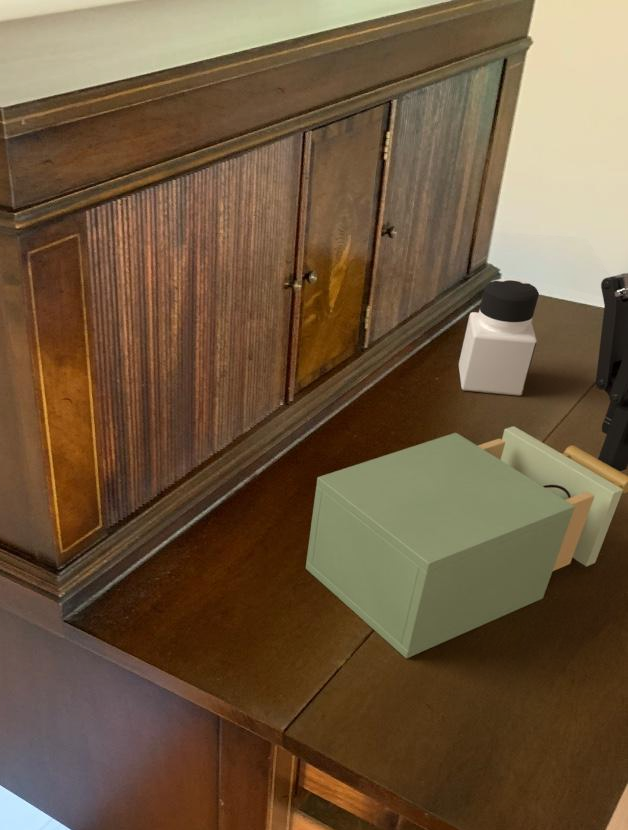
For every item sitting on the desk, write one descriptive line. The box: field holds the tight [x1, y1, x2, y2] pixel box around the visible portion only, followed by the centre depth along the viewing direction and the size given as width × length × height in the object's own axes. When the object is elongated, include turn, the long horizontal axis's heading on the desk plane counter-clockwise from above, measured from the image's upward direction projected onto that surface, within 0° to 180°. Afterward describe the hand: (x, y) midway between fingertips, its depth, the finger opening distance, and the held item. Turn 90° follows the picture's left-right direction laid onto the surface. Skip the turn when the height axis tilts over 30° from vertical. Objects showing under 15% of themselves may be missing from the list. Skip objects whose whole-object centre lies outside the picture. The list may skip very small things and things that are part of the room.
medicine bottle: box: [458, 277, 540, 397], centre depth 109 cm, size 7×7×12 cm
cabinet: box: [305, 432, 575, 659], centre depth 79 cm, size 16×14×10 cm
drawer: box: [477, 425, 628, 572], centre depth 83 cm, size 21×12×8 cm, turn 120°
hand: (610, 468), depth 87 cm, fingers closed
